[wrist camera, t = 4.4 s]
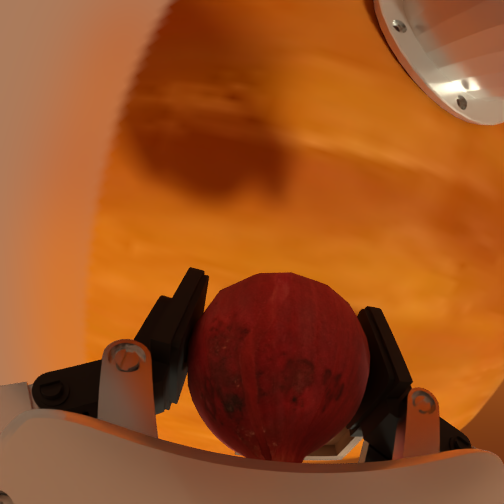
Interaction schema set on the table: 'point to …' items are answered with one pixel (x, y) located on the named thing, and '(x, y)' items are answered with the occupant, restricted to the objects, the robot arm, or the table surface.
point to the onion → (277, 366)
